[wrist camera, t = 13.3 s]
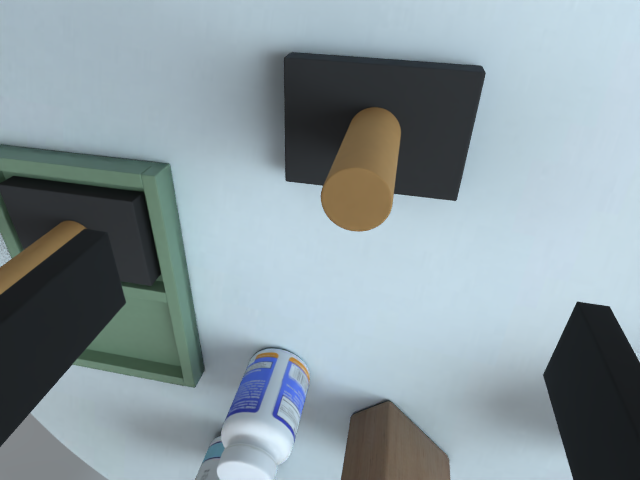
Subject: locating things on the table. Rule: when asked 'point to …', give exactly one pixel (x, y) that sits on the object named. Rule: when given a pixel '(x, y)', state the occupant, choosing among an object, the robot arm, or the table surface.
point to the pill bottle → (263, 416)
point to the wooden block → (391, 448)
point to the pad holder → (141, 300)
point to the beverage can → (211, 461)
